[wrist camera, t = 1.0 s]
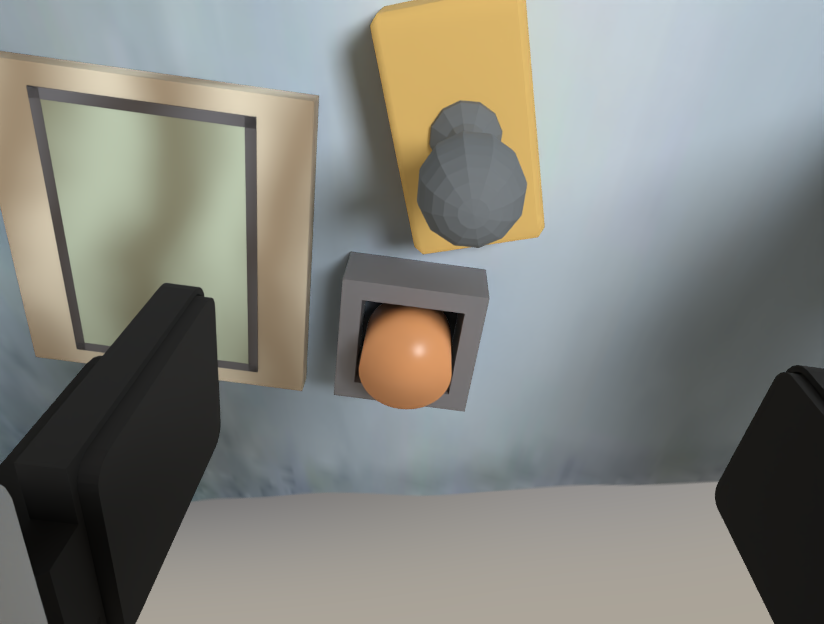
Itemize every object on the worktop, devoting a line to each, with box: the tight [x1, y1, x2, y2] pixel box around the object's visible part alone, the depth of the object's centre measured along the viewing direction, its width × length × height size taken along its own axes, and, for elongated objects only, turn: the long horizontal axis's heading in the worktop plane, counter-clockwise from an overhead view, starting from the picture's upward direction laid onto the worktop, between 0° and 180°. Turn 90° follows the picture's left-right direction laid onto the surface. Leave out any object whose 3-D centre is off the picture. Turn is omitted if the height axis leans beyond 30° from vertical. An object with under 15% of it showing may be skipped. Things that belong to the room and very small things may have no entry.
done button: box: [359, 303, 452, 409], centre depth 30 cm, size 4×4×4 cm
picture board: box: [0, 51, 319, 391], centre depth 31 cm, size 15×16×1 cm
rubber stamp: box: [370, 0, 544, 254], centre depth 23 cm, size 10×6×12 cm, turn 11°
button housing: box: [334, 252, 489, 411], centre depth 32 cm, size 7×7×3 cm
